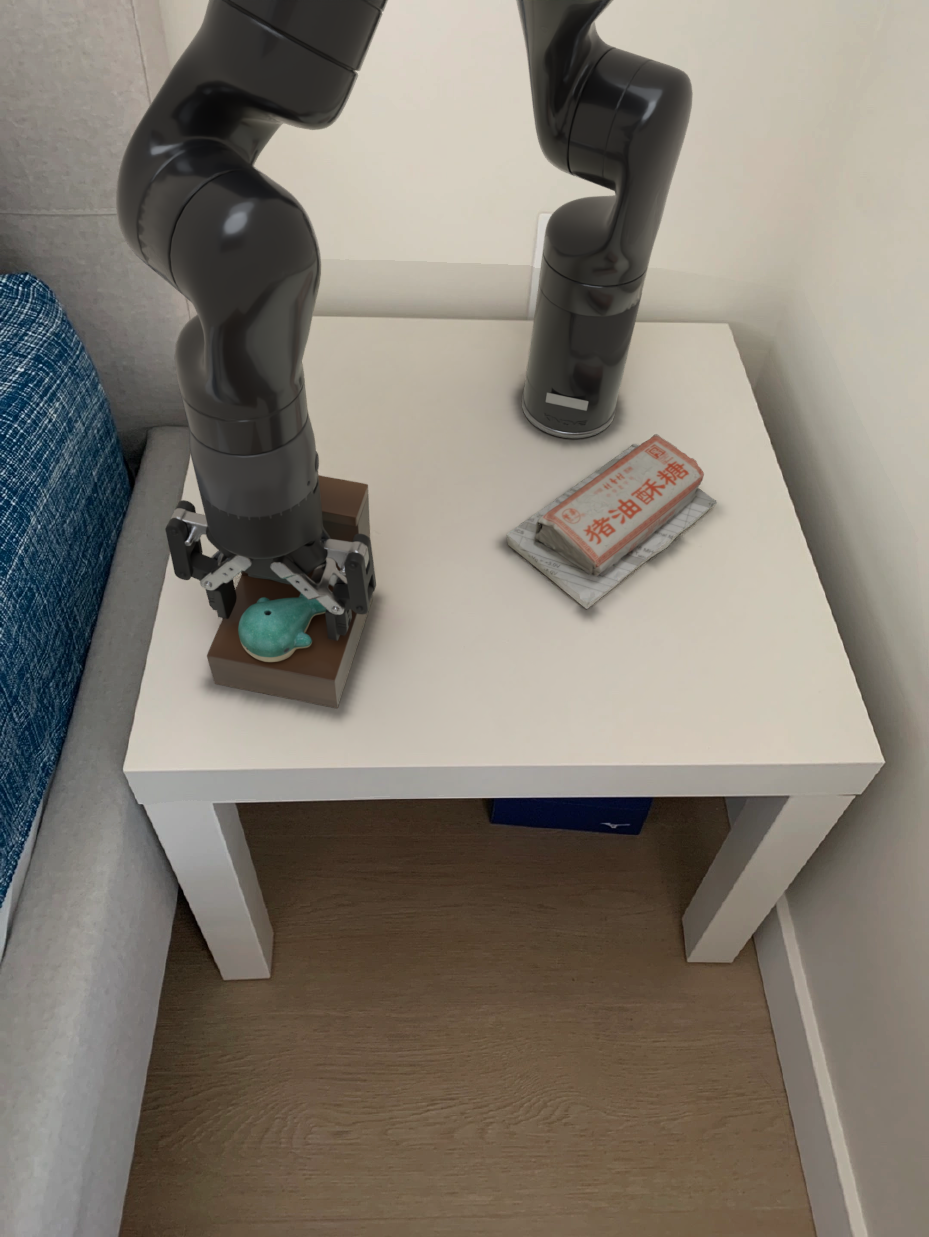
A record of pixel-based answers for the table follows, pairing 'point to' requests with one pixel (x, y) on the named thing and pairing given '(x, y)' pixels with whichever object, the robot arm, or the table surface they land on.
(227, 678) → the shelf
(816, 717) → the table surface
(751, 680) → the table surface
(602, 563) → the packaged product
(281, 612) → the whale figurine
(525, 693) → the table surface
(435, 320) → the table surface
